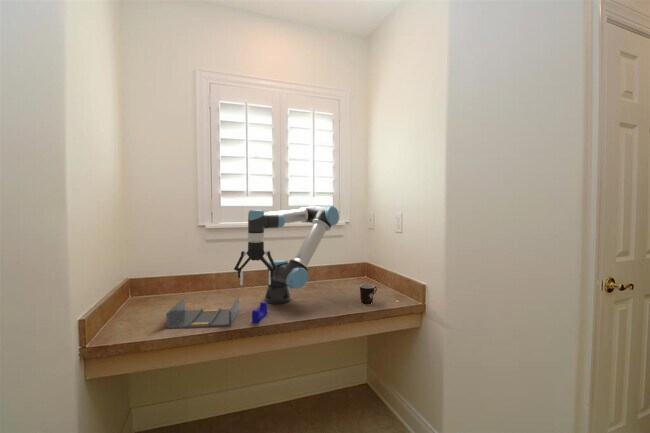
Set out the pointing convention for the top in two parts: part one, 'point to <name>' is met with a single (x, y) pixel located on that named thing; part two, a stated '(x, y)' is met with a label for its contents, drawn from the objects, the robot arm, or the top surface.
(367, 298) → the coffee mug
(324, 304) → the top surface
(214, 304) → the top surface
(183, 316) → the desk rack
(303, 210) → the robot arm
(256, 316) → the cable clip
